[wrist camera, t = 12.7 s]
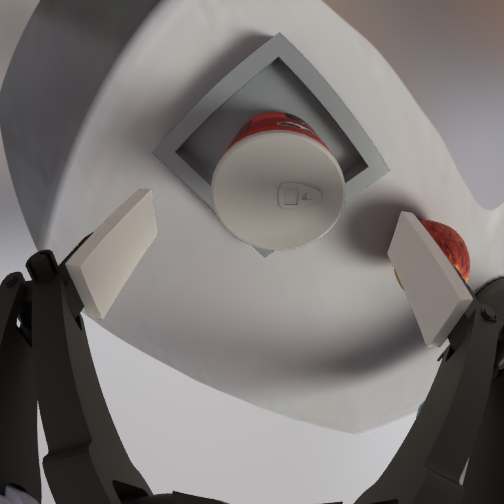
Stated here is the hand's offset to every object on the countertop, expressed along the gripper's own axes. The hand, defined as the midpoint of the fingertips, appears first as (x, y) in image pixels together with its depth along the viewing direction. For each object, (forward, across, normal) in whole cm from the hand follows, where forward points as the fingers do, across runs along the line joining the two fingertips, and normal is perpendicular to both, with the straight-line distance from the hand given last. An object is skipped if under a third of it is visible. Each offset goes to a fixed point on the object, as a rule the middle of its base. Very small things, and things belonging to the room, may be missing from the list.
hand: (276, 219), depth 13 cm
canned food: (+14, 0, 0) cm, 14 cm away
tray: (+14, +1, 0) cm, 14 cm away
